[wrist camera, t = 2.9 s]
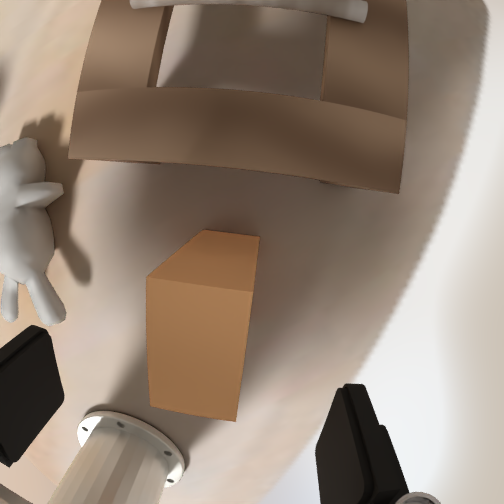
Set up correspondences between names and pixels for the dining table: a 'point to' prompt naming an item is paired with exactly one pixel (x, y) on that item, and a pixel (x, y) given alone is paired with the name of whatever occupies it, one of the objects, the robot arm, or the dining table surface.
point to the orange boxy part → (200, 324)
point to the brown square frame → (250, 99)
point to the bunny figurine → (27, 231)
